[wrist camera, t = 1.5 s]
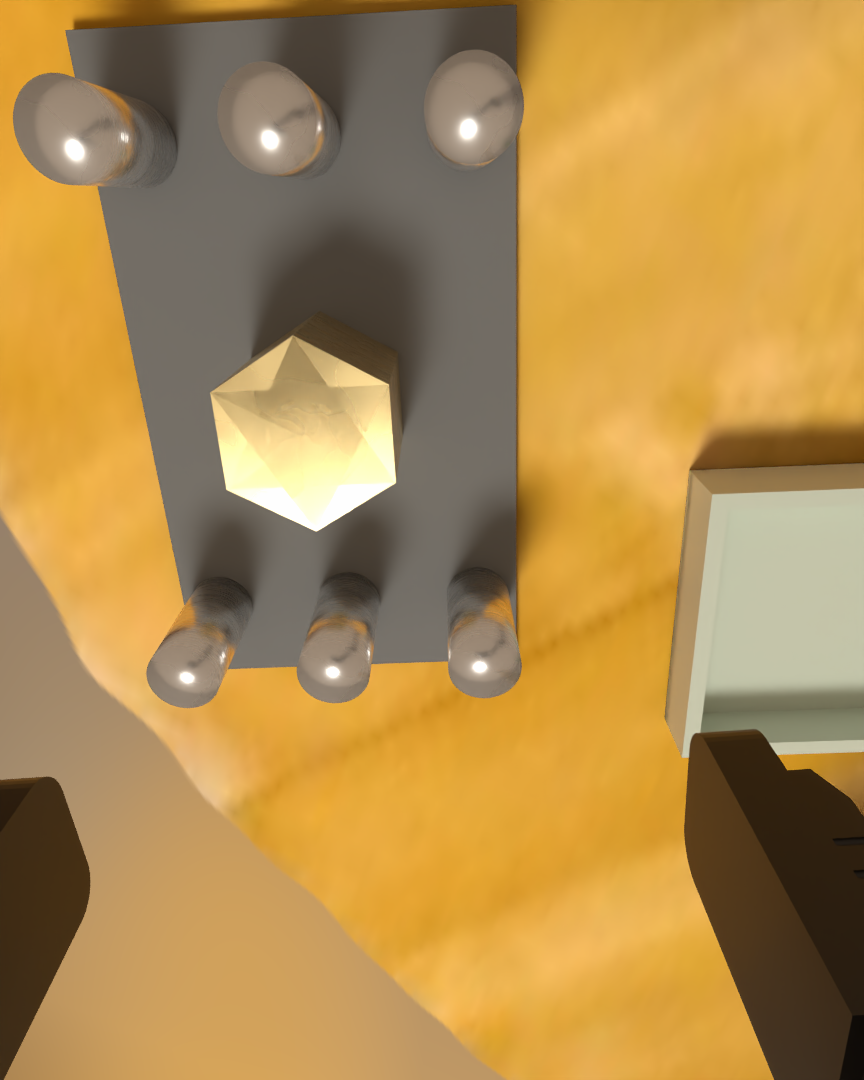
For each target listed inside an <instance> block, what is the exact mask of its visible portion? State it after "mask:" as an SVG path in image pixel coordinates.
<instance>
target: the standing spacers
mask: <svg viewBox="0 0 864 1080" xmlns="http://www.w3.org/2000/svg"><path fill="white" fill-rule="evenodd" d="M523 111H524V100H523V93H522V89H521V85H520V83H519V80H518V78H517V76H516V74H515V73H514V71H513V70H512V68H511V67H510V66H509V65H508V64H507V63H506V62H505V61H504V60H503V59H501V58H500V57H499V56H497V55H495V54H493V53H490V52H488V51H483V50H466V51H463V52H459V53H457V54H455V55H453V56H451V57H450V58H448V59H447V60H446V61H444V62H443V63H442V64H441V65H440V66H439V68H438V69H437V70H436V71H435V73H434V74H433V76H432V78H431V80H430V82H429V84H428V87H427V90H426V94H425V100H424V116H425V124H426V130H427V136H428V141H429V144H430V147H431V149H432V151H433V152H434V154H435V155H436V157H437V158H438V159H439V160H440V161H441V162H442V163H443V164H444V165H446V166H447V167H449V168H451V169H454V170H457V171H462V172H469V171H475V170H478V169H480V168H483V167H484V166H486V165H487V164H489V163H490V162H491V161H493V160H494V159H495V158H497V157H498V156H499V155H501V154H502V153H503V152H504V151H505V150H506V149H507V148H508V147H509V146H510V145H511V143H512V142H513V141H514V139H515V137H516V136H517V134H518V131H519V129H520V126H521V123H522V118H523ZM217 116H218V124H219V129H220V133H221V136H222V138H223V140H224V143H225V144H226V146H227V148H228V150H229V151H230V152H231V154H232V155H233V156H234V157H235V158H236V159H237V160H238V161H239V162H240V163H241V164H243V165H244V166H246V167H247V168H249V169H251V170H253V171H255V172H258V173H262V174H268V175H274V176H280V177H286V178H292V179H299V180H310V179H314V178H317V177H319V176H321V175H323V174H324V173H326V172H327V171H328V170H329V169H330V168H331V167H332V165H333V164H334V162H335V161H336V159H337V157H338V154H339V151H340V146H341V131H340V126H339V122H338V120H337V117H336V115H335V113H334V111H333V110H332V108H331V107H330V106H329V105H328V104H327V102H325V101H324V100H323V99H322V98H321V97H320V96H319V95H318V94H317V93H315V92H314V91H313V90H312V89H311V88H310V87H309V86H308V85H306V84H305V83H304V82H303V81H302V80H301V79H300V78H299V77H298V76H296V75H295V74H294V73H293V72H292V71H290V70H289V69H287V68H285V67H283V66H281V65H279V64H276V63H272V62H265V61H259V62H253V63H250V64H247V65H245V66H243V67H241V68H239V69H238V70H236V71H235V72H234V73H233V74H232V75H231V76H230V77H229V79H228V80H227V81H226V83H225V85H224V86H223V89H222V91H221V94H220V97H219V102H218V112H217ZM13 124H14V130H15V135H16V138H17V141H18V143H19V146H20V148H21V150H22V152H23V153H24V155H25V156H26V158H27V159H28V161H29V162H30V163H31V164H32V165H33V166H34V167H35V168H36V169H37V170H38V171H39V172H40V173H42V174H43V175H44V176H46V177H48V178H49V179H51V180H54V181H56V182H59V183H62V184H68V185H86V186H108V187H129V188H151V187H155V186H157V185H160V184H161V183H163V182H164V181H165V180H166V179H168V177H169V176H170V175H171V173H172V172H173V170H174V168H175V165H176V162H177V156H178V145H177V139H176V136H175V133H174V130H173V128H172V126H171V124H170V123H169V121H168V119H167V118H166V117H165V116H164V115H163V114H162V112H161V111H159V110H158V109H157V108H156V107H154V106H153V105H151V104H149V103H147V102H144V101H141V100H138V99H135V98H133V97H130V96H127V95H124V94H121V93H118V92H115V91H112V90H109V89H106V88H103V87H100V86H98V85H95V84H92V83H89V82H86V81H83V80H80V79H77V78H74V77H71V76H68V75H65V74H60V73H47V74H42V75H39V76H37V77H35V78H33V79H32V80H30V81H29V82H28V83H27V84H26V85H25V86H24V87H23V88H22V89H21V91H20V92H19V95H18V97H17V99H16V102H15V106H14V111H13ZM379 607H380V595H379V592H378V590H377V588H376V586H375V585H374V584H373V582H372V581H370V580H369V579H368V578H366V577H365V576H363V575H360V574H357V573H351V572H345V573H339V574H336V575H334V576H332V577H330V578H329V579H328V580H327V581H325V583H324V584H323V585H322V587H321V589H320V592H319V595H318V599H317V602H316V605H315V609H314V612H313V615H312V619H311V622H310V625H309V628H308V632H307V635H306V638H305V642H304V645H303V648H302V652H301V655H300V658H299V661H298V665H297V676H298V680H299V682H300V684H301V686H302V687H303V689H304V690H305V691H306V692H307V693H308V694H310V695H311V696H313V697H314V698H316V699H318V700H321V701H324V702H329V703H342V702H347V701H350V700H352V699H354V698H356V697H357V696H359V695H360V694H361V693H362V692H363V691H364V690H365V688H366V686H367V684H368V682H369V677H370V670H371V663H372V656H373V649H374V642H375V635H376V628H377V621H378V614H379ZM252 613H253V602H252V598H251V596H250V594H249V593H248V591H247V590H246V589H245V588H244V587H243V586H242V585H241V584H239V583H238V582H236V581H234V580H231V579H228V578H223V577H215V578H210V579H207V580H205V581H203V582H201V583H200V584H199V585H198V586H197V587H196V589H195V590H194V592H193V593H192V595H191V596H190V598H189V600H188V601H187V603H186V604H185V606H184V608H183V609H182V611H181V612H180V614H179V616H178V617H177V619H176V620H175V622H174V624H173V625H172V627H171V628H170V630H169V632H168V633H167V635H166V636H165V638H164V640H163V641H162V643H161V644H160V646H159V648H158V649H157V651H156V652H155V654H154V656H153V657H152V659H151V660H150V662H149V664H148V667H147V680H148V683H149V685H150V687H151V689H152V691H153V692H154V693H155V694H156V695H157V696H158V697H159V698H160V699H162V700H163V701H165V702H166V703H169V704H171V705H174V706H177V707H182V708H194V707H199V706H202V705H204V704H206V703H208V702H209V701H211V700H212V699H213V698H214V696H215V695H216V693H217V691H218V689H219V687H220V685H221V683H222V680H223V678H224V676H225V674H226V671H227V669H228V667H229V665H230V663H231V660H232V658H233V656H234V654H235V651H236V649H237V647H238V645H239V643H240V640H241V638H242V636H243V634H244V631H245V629H246V627H247V625H248V623H249V620H250V618H251V616H252ZM447 629H448V670H449V675H450V678H451V680H452V682H453V684H454V685H455V686H456V687H457V688H458V689H459V690H460V691H462V692H463V693H465V694H467V695H470V696H473V697H478V698H491V697H495V696H499V695H501V694H503V693H505V692H507V691H508V690H510V689H511V688H512V687H513V686H514V685H515V684H516V682H517V681H518V679H519V677H520V674H521V668H522V665H521V658H520V653H519V647H518V642H517V636H516V631H515V625H514V620H513V614H512V609H511V603H510V598H509V592H508V587H507V585H506V583H505V581H504V579H503V578H502V577H501V576H500V575H499V574H498V573H496V572H494V571H493V570H490V569H487V568H481V567H476V568H469V569H466V570H464V571H462V572H460V573H459V574H457V575H456V576H455V577H454V578H453V579H452V581H451V582H450V584H449V586H448V589H447Z"/></svg>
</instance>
